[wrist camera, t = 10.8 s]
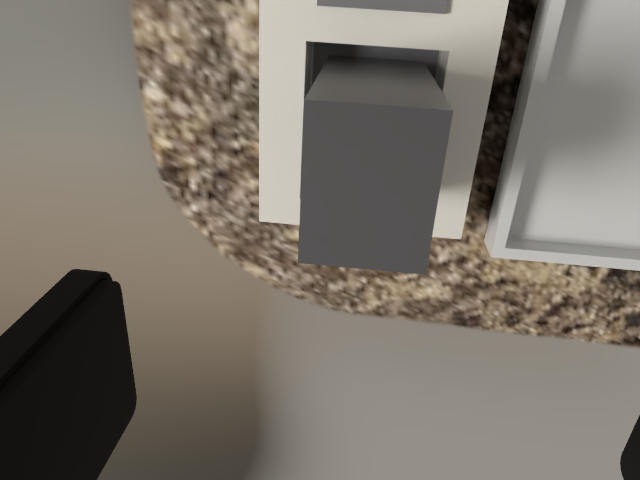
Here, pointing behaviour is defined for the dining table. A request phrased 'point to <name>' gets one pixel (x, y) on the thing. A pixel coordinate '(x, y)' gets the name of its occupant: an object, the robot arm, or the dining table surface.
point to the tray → (574, 141)
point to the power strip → (379, 43)
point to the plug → (372, 164)
